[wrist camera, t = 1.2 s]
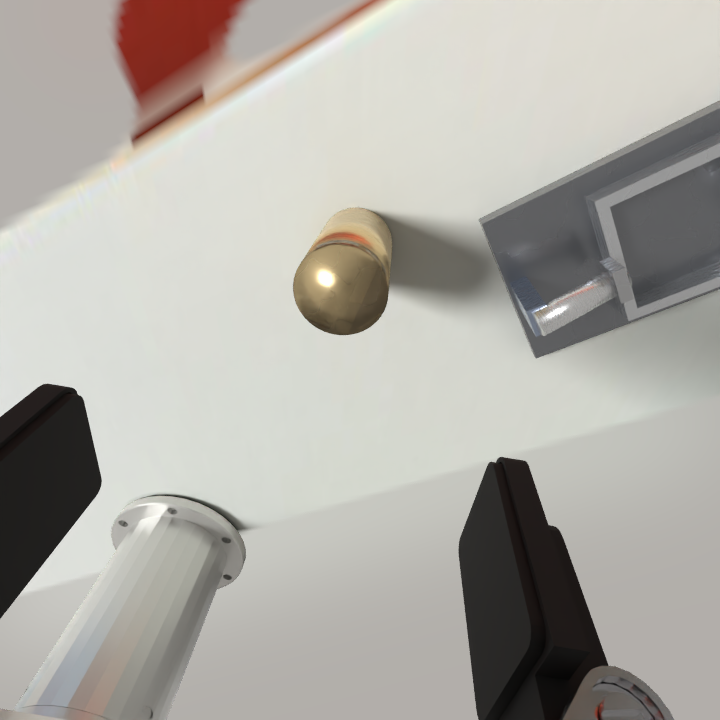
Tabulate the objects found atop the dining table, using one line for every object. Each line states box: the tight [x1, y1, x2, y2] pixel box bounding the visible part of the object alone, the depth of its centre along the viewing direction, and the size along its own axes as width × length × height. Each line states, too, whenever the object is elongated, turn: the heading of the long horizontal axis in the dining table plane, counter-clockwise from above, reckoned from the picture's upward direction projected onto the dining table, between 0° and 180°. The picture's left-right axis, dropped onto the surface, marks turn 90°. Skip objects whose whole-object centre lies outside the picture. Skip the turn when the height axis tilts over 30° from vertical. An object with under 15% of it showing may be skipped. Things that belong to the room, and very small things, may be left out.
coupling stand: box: [479, 101, 720, 358], centre depth 23 cm, size 10×18×6 cm, turn 119°
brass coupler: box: [293, 208, 392, 335], centre depth 24 cm, size 4×4×8 cm
